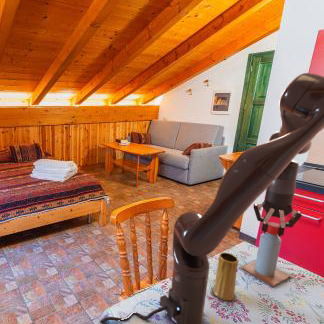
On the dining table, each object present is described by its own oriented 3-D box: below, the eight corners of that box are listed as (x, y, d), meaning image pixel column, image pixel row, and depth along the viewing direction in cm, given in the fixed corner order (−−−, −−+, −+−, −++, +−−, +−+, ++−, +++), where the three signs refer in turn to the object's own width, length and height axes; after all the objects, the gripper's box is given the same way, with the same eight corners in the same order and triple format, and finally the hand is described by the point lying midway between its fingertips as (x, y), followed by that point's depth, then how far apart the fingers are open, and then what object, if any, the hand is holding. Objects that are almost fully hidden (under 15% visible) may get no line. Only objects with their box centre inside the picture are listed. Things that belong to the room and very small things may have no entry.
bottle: (268, 278, 90) (278, 231, 85) (251, 268, 95) (259, 224, 91) (277, 273, 93) (287, 227, 88) (260, 264, 98) (268, 220, 93)
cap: (269, 228, 92) (271, 221, 91) (280, 233, 89) (282, 225, 88) (263, 231, 91) (265, 223, 90) (274, 235, 88) (276, 227, 87)
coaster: (273, 286, 87) (273, 285, 87) (241, 268, 96) (241, 267, 96) (290, 277, 91) (290, 276, 91) (258, 260, 101) (258, 259, 101)
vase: (213, 297, 83) (218, 259, 79) (212, 285, 88) (217, 249, 85) (234, 303, 80) (240, 265, 77) (233, 290, 85) (238, 254, 82)
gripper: (306, 190, 85) (296, 235, 89) (255, 182, 93) (248, 224, 97) (309, 197, 79) (298, 245, 83) (255, 188, 87) (247, 232, 91)
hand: (271, 233), depth 90 cm, fingers closed on cap, 3 cm apart
